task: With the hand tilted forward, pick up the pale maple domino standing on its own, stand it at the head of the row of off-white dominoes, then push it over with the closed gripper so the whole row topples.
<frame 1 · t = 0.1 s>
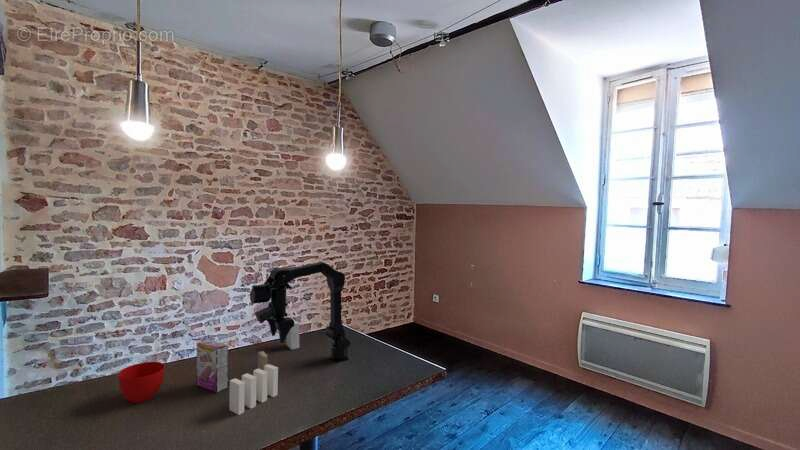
hand: (277, 339, 146), 15 cm above the table, tool pointing down, fingers open, 9 cm apart
domino 3: (259, 399, 128), on the table
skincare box: (292, 347, 175), on the table
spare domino: (262, 378, 143), on the table
red bowl: (141, 396, 128), on the table
domino 2: (270, 393, 132), on the table
candy bar box: (211, 387, 136), on the table
domino 4: (248, 404, 125), on the table
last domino: (236, 411, 121), on the table
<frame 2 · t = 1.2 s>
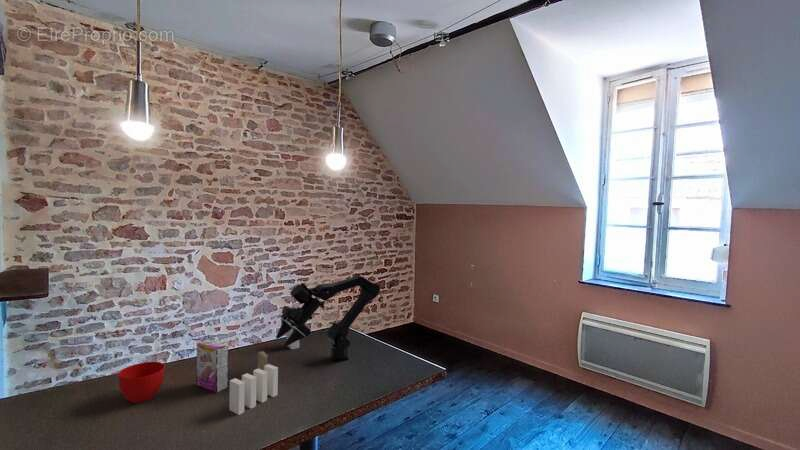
hand: (280, 341, 147), 13 cm above the table, tool tilted 45°, fingers open, 9 cm apart
nothing on the table moved.
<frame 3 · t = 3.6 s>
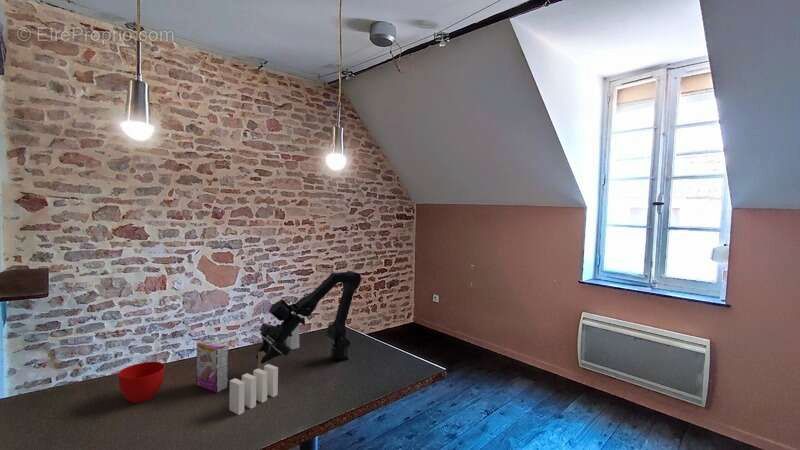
hand: (258, 360, 142), 8 cm above the table, tool tilted 45°, fingers closed on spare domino, 5 cm apart
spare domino: (262, 378, 143), on the table, touching gripper
everything else where it was.
when the fingers open (9 cm above the table, at t = 9.1 s): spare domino stays where it is, on the table.
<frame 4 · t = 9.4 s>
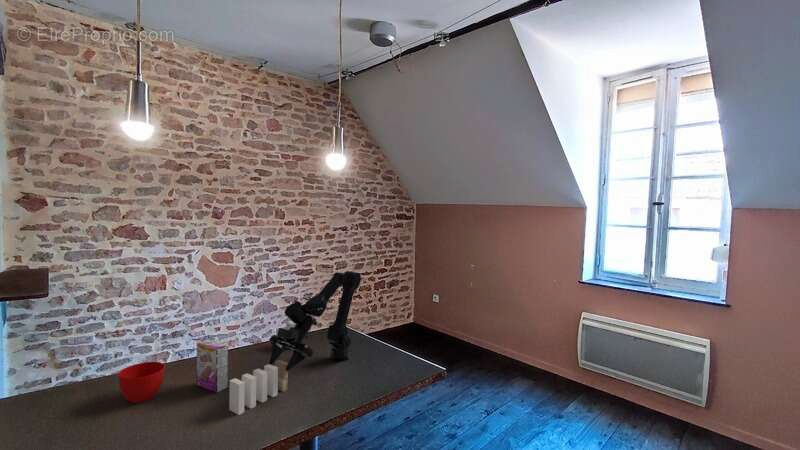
hand: (277, 367, 134), 9 cm above the table, tool tilted 45°, fingers open, 8 cm apart
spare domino: (280, 388, 136), on the table
everything else where it was.
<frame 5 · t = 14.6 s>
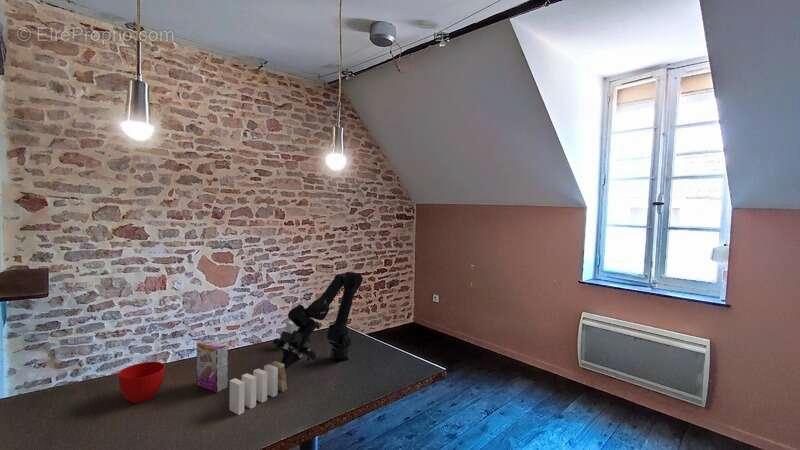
hand: (280, 370, 136), 7 cm above the table, tool tilted 45°, fingers closed, pressing on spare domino
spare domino: (280, 388, 136), on the table, tilted 9°, touching gripper
everything else where it was.
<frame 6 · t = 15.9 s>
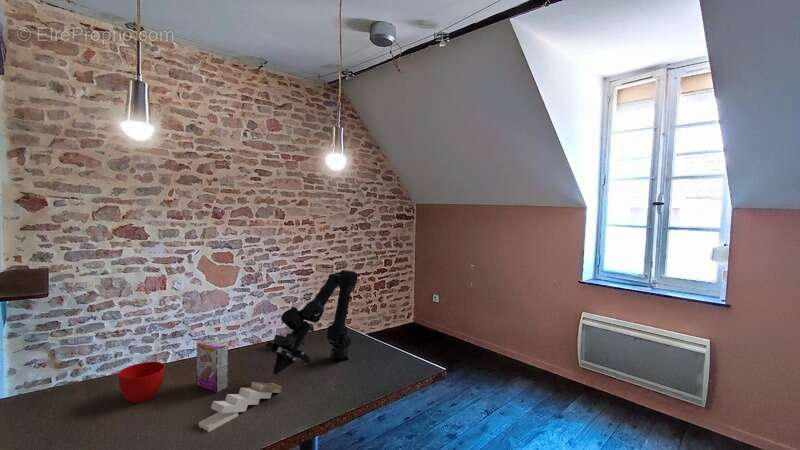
hand: (274, 374, 133), 7 cm above the table, tool tilted 45°, fingers closed
domino 3: (254, 399, 126), point 1 cm above the table, tilted 66°, touching domino 2
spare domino: (276, 387, 134), point 1 cm above the table, tilted 65°, touching domino 2
domino 2: (266, 393, 131), point 1 cm above the table, tilted 66°, touching domino 3, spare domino
domino 4: (241, 405, 122), point 1 cm above the table, tilted 66°
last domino: (233, 412, 119), on the table, tilted 90°
everything else where it was.
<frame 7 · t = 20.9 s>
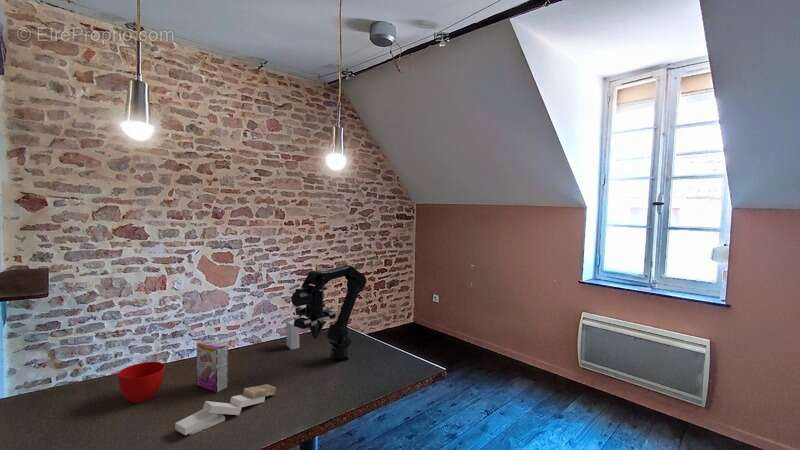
hand: (315, 339, 152), 13 cm above the table, tool pointing down, fingers closed
domino 3: (237, 409, 120), point 1 cm above the table, tilted 65°, touching domino 4
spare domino: (271, 389, 132), point 2 cm above the table, tilted 75°, touching domino 2
domino 2: (259, 396, 128), point 1 cm above the table, tilted 75°, touching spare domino
domino 4: (212, 412, 116), point 2 cm above the table, tilted 90°, touching domino 3, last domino
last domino: (221, 416, 117), on the table, tilted 90°, touching domino 4
everything else where it was.
at the end: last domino tilted 90°; domino 3 tilted 64°; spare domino inside the target area (3.6 cm from its centre), point 1.7 cm above the table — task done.
